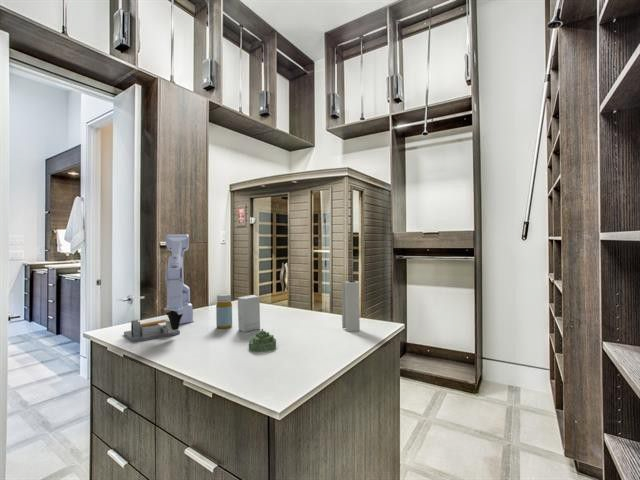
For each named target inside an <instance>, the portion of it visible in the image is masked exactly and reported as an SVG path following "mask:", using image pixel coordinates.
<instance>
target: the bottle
mask: <svg viewBox="0 0 640 480" xmlns="http://www.w3.org/2000/svg"><path fill="white" fill-rule="evenodd" d="M216 297H217V298H216V306H215V310H216V316H215V317H216V318H215V319H216V328H217V329H222V330H223V329H230V328H232V326H233V303H232V294H231V293H220V294H217V296H216Z"/></svg>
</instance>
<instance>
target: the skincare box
mask: <svg viewBox="0 0 640 480" xmlns="http://www.w3.org/2000/svg"><path fill="white" fill-rule="evenodd" d="M260 308H261V307H260V296H259V295H255V294H250V295H245V296H239V297H237V315H238V316H237V317H238V318H237V319H238V320H237V321H238V330H239V331H241V332H243V333H246V332H251V331H255V330H259V329H261V314H260V311H261V309H260Z"/></svg>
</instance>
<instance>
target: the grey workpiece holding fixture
mask: <svg viewBox="0 0 640 480" xmlns="http://www.w3.org/2000/svg"><path fill="white" fill-rule="evenodd" d="M140 324H141V321H139V320H138V319H134V320H131V321H130V330H126V331H123V335H124V336H125V338H127V339H128V340H129V341H130V342H131V343H138V342H144V341H148V340H154V339H159V338H160V339H161V338H165V337H171V336H174V335H176V336H177V335H180V334H181V330H179V328H178V329H176V332H172V333H167V329H166V324H162V325H161V324H160V323H158V324H152V325H147V326H141V327H140Z"/></svg>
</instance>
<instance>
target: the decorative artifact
mask: <svg viewBox="0 0 640 480" xmlns="http://www.w3.org/2000/svg"><path fill="white" fill-rule="evenodd" d="M276 348H277V339H276V338H274V334H270V332H269V331H268V332H267V331H266V330H264V328H261V330H259V331H258V332H255V335H253V338H251V339H249V340H248V350H250V351H251V352H258V353H262V352H264V353H265V352H269V351H270V352H271V351H273V350H275V349H276Z"/></svg>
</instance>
